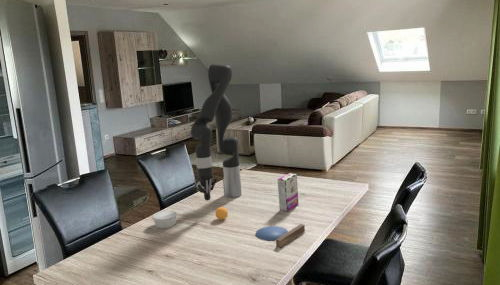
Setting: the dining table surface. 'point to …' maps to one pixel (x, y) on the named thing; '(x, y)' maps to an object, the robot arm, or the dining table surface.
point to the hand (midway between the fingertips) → (207, 199)
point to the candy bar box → (288, 192)
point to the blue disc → (270, 233)
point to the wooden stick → (290, 235)
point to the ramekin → (165, 219)
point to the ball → (221, 213)
